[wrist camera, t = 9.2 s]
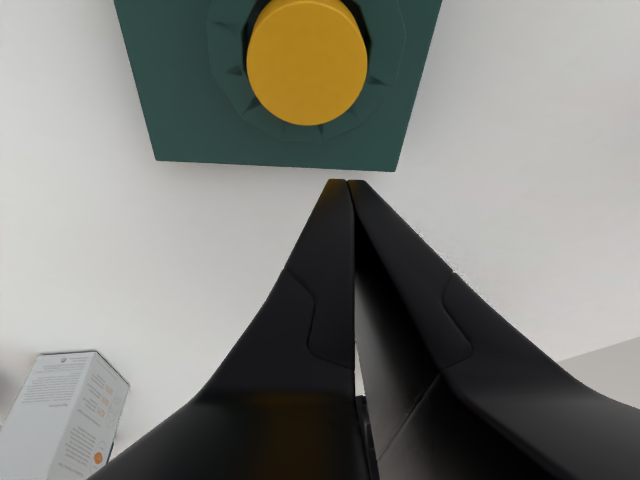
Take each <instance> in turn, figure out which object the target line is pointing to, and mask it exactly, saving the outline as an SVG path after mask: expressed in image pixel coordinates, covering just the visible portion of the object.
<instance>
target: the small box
mask: <svg viewBox="0 0 640 480" xmlns="http://www.w3.org/2000/svg"><path fill="white" fill-rule="evenodd" d="M128 390H129V385H128V384H127V383H126V382H125V381H124V380H123V379H122V378H121V377H120V376H119V375H118V374H117V373H116V372H115V371H114V370H113V369H112V367H111V366H110V365H109V364H108V363H107V362H106V361H105V360H104V359H103V358H102V357H101V356H100V355H99V354H98V353H97V352H84V353H70V354H55V355H41V356H38V357H37V358H36V360H35V362H34V364H33V366H32V368H31V370H30V372H29V374H28V376H27V378H26V380H25V382H24V384H23V386H22V388H21V390H20V392H19V394H18V396H17V398H16V400H15V402H14V404H13V406H12V408H11V410H10V412H9V414H8V416H7V417H6V419H5V422H4V423H3V425H2V428H1V429H0V480H86V479H87V478H88V477H90V476H91V475H92V474H94V473H95V472H96V471H98V470H99V469H100V468H102V467H103V466H104V465H106V462H107V458H108V455H109V452H110V449H111V446H112V442H113V439H114V436H115V433H116V429H117V426H118V423H119V420H120V416H121V413H122V410H123V407H124V403H125V400H126V397H127V394H128Z"/></svg>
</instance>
